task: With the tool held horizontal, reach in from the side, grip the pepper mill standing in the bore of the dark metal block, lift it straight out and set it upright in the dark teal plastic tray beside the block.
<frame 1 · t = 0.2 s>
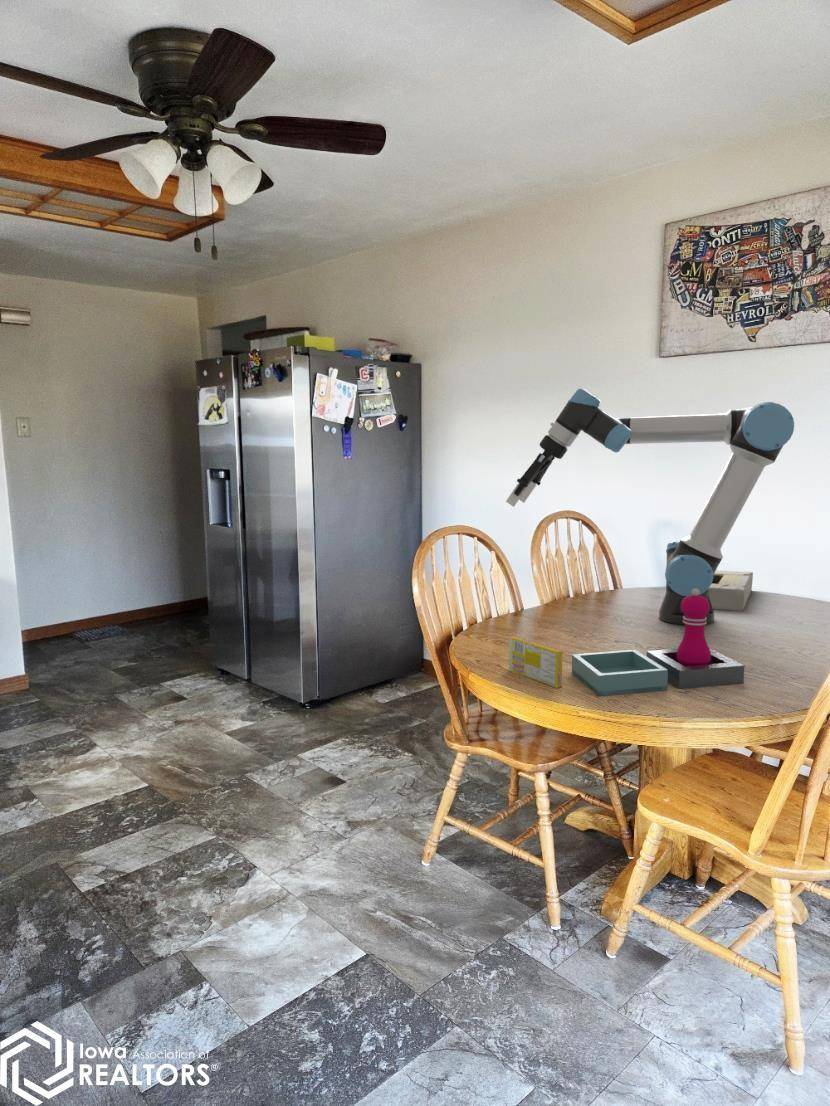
hand: (515, 502, 208), 36 cm above the table, tool tilted 35°, fingers open, 13 cm apart
candy box: (534, 679, 163), on the table
tray: (617, 681, 158), on the table
bore block: (693, 675, 161), on the table
pepper mill: (693, 675, 161), resting in bore block
box: (710, 599, 236), on the table
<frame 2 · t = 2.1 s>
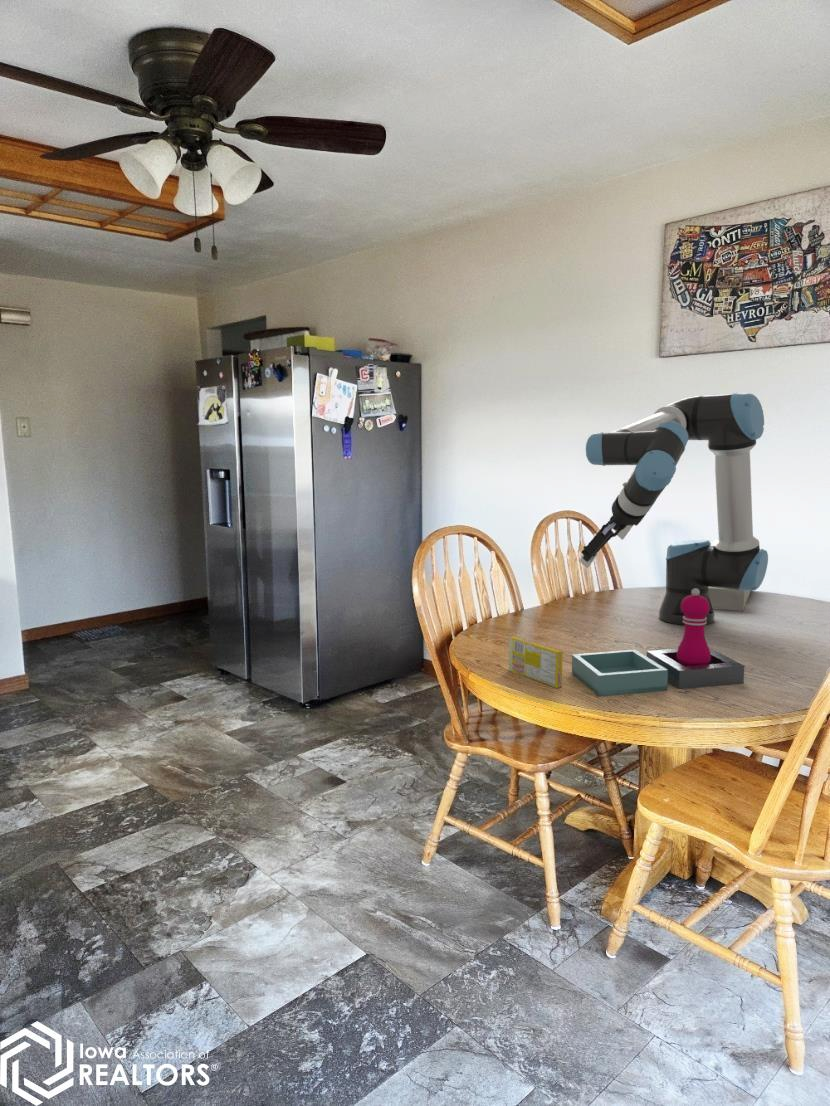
hand: (601, 549, 180), 26 cm above the table, tool tilted 50°, fingers open, 13 cm apart
nothing on the table moved.
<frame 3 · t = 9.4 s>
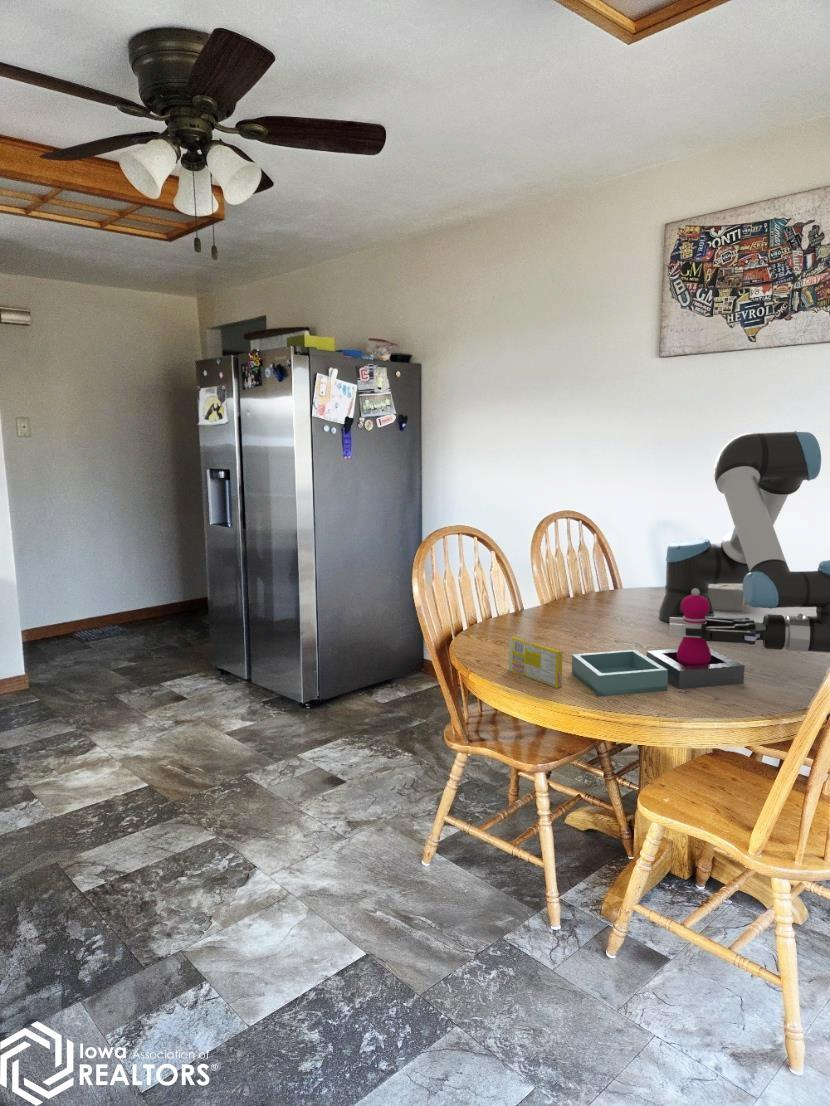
hand: (669, 626, 161), 11 cm above the table, tool horizontal, fingers closed on pepper mill, 5 cm apart
pepper mill: (693, 675, 161), resting in bore block, touching gripper
everything else where it was.
when the fingers open (13 cm above the table, at t = 15.5 s): pepper mill drops 1 cm, resting on tray.
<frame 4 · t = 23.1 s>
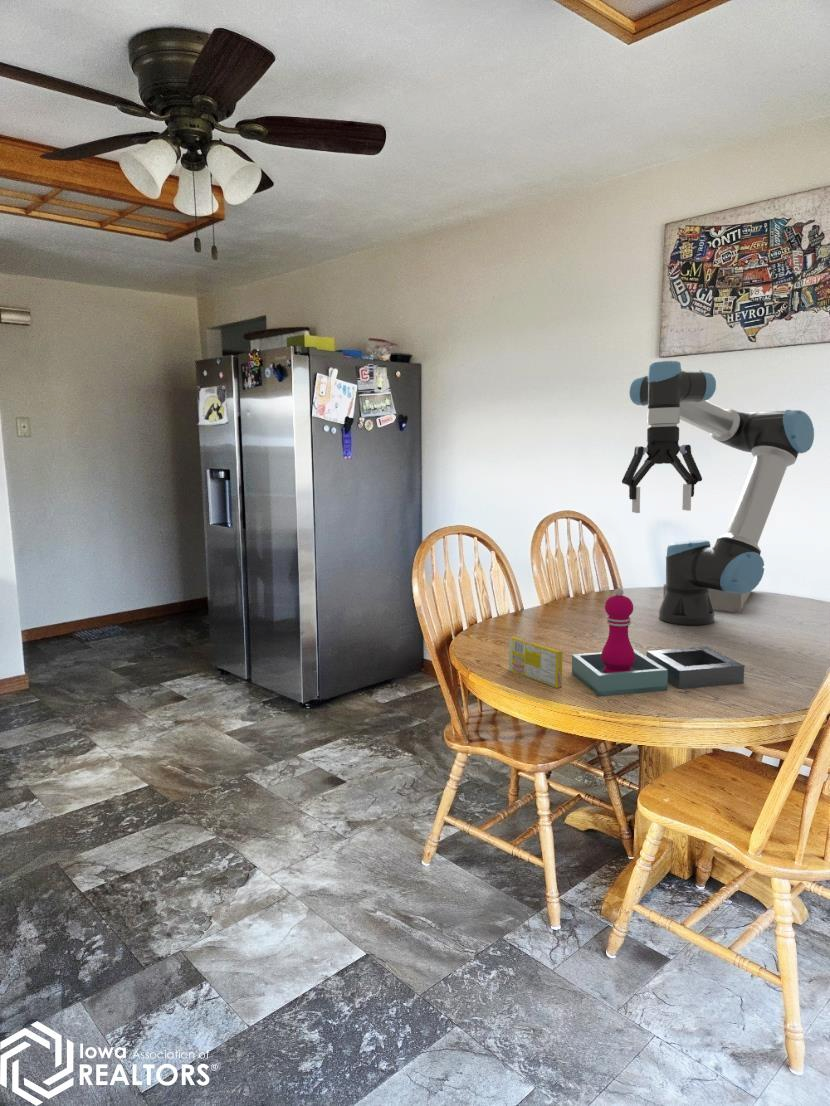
hand: (661, 511, 180), 35 cm above the table, tool pointing down, fingers open, 13 cm apart
pepper mill: (617, 677, 158), point 1 cm above the table, touching tray
at the end: pepper mill inside the target area on the tray (0.0 cm from its centre), point 0.8 cm above the tray's base; pepper mill tilted 1°; the gripper is holding nothing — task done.
